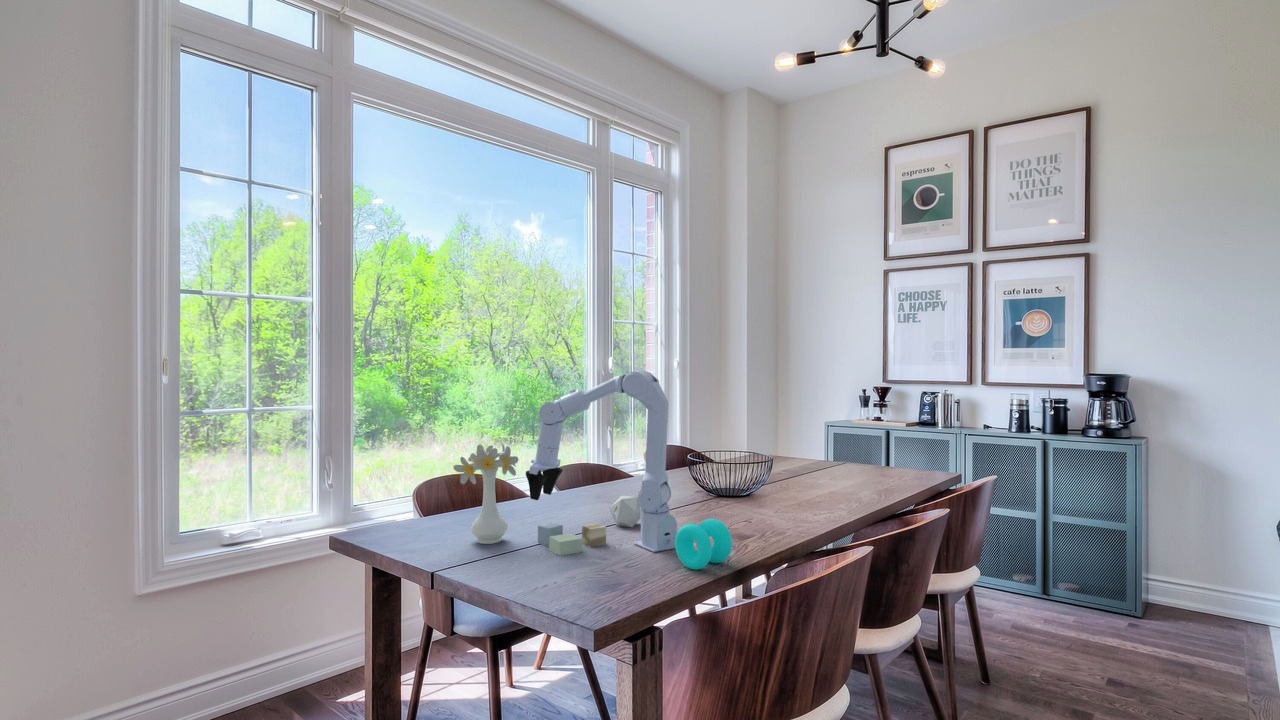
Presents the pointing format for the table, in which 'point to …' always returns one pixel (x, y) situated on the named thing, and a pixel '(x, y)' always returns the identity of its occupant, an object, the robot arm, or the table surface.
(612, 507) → the die
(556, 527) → the slate cube
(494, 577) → the table surface
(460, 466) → the flower vase
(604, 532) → the beech cube
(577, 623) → the table surface
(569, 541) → the pale green block
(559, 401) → the robot arm
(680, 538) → the donuts
